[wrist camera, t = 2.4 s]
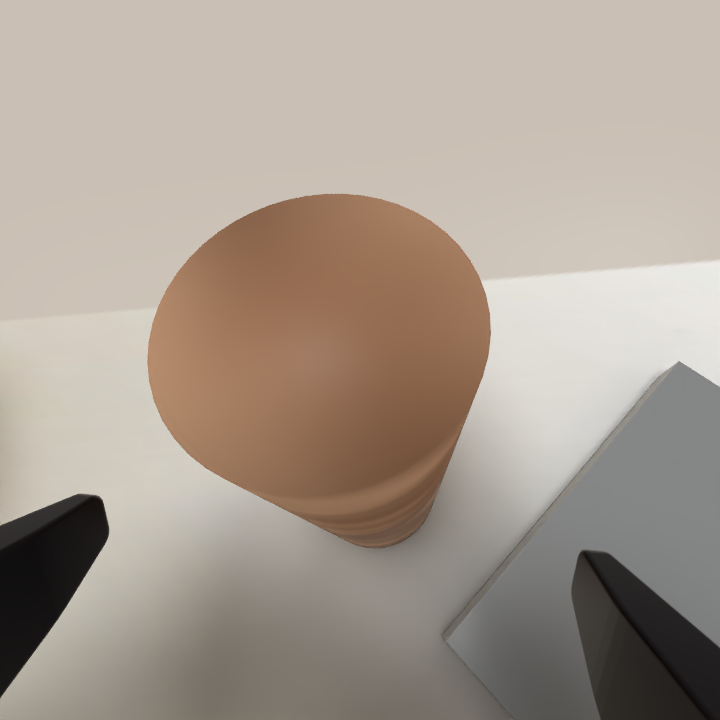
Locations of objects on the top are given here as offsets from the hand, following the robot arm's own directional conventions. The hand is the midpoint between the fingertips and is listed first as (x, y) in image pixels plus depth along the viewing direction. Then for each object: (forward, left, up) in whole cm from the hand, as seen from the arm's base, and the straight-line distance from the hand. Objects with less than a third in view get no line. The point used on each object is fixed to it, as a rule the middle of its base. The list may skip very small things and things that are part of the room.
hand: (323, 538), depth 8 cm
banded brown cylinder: (+2, +2, -10) cm, 10 cm away
